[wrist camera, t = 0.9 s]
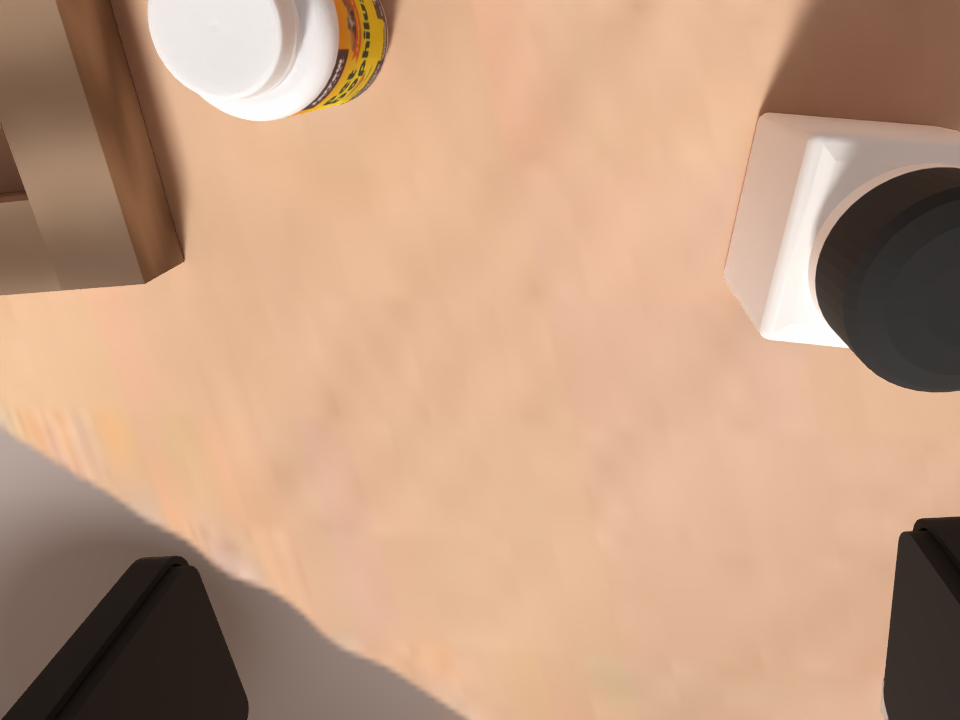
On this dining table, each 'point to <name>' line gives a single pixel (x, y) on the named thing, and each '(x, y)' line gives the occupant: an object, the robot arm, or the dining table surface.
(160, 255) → the square bottle holder
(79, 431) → the dining table surface
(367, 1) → the supplement bottle
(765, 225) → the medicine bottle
